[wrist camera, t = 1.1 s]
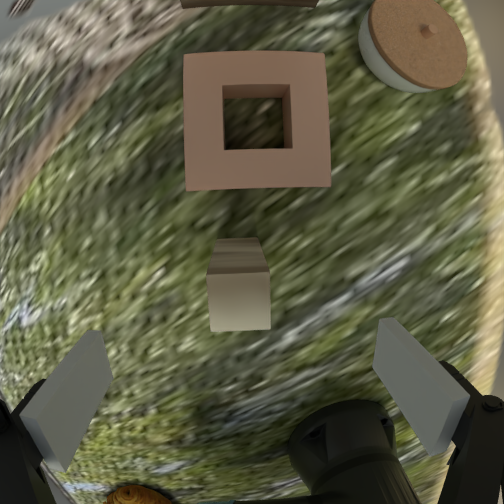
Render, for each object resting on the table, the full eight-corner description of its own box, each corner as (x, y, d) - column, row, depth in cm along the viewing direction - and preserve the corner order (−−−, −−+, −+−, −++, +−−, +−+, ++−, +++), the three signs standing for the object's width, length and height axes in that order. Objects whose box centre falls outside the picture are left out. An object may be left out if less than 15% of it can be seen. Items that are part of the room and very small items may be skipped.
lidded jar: (361, 107, 30) (403, 86, 21) (331, 18, 27) (360, -24, 18) (439, 99, 30) (491, 84, 20) (412, 18, 27) (452, -13, 18)
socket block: (316, 185, 31) (331, 186, 26) (193, 189, 31) (186, 191, 26) (311, 69, 29) (324, 53, 24) (191, 71, 28) (183, 54, 23)
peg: (258, 276, 33) (270, 329, 21) (219, 277, 33) (210, 331, 21) (257, 237, 32) (269, 272, 21) (216, 238, 32) (206, 274, 20)
